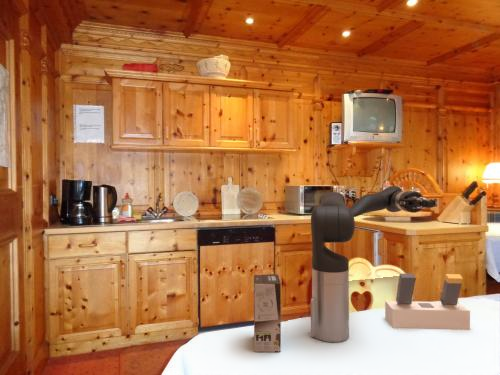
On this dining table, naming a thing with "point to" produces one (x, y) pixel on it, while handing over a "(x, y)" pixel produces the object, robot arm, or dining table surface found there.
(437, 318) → the beige lever base
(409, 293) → the lever left
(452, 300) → the lever right
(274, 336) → the coffee box
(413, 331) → the dining table surface
